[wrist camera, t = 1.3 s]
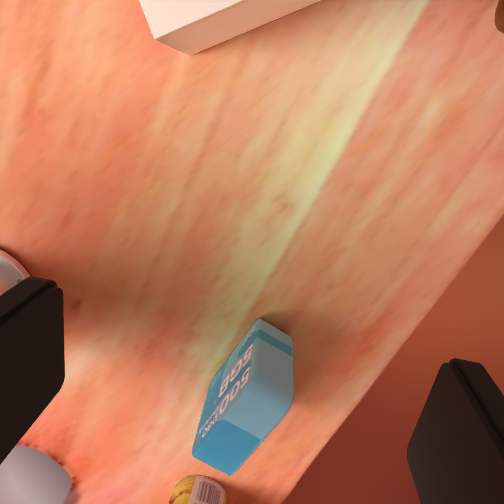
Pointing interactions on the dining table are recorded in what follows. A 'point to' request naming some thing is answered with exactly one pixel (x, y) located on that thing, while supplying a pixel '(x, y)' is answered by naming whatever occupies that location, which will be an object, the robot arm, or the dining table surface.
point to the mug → (500, 16)
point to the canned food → (197, 491)
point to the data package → (246, 398)
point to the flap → (181, 13)
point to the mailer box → (231, 24)
